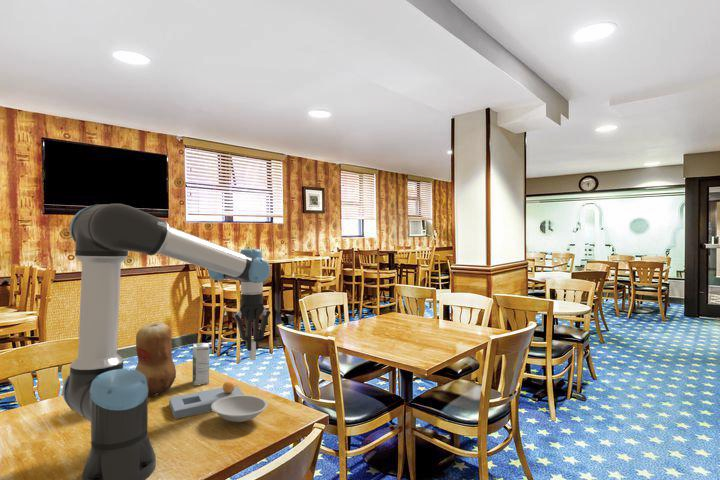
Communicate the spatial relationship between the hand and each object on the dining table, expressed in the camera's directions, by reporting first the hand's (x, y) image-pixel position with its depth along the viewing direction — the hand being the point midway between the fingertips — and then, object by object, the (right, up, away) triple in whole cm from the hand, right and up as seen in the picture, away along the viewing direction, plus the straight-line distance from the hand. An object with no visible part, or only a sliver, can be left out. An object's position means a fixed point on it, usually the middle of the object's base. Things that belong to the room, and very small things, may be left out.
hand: (252, 359), depth 145 cm
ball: (-7, -8, -4) cm, 12 cm away
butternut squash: (-35, -13, +1) cm, 37 cm away
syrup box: (-23, -13, +12) cm, 29 cm away
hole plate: (-13, -13, -8) cm, 20 cm away
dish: (+1, -13, -20) cm, 24 cm away
